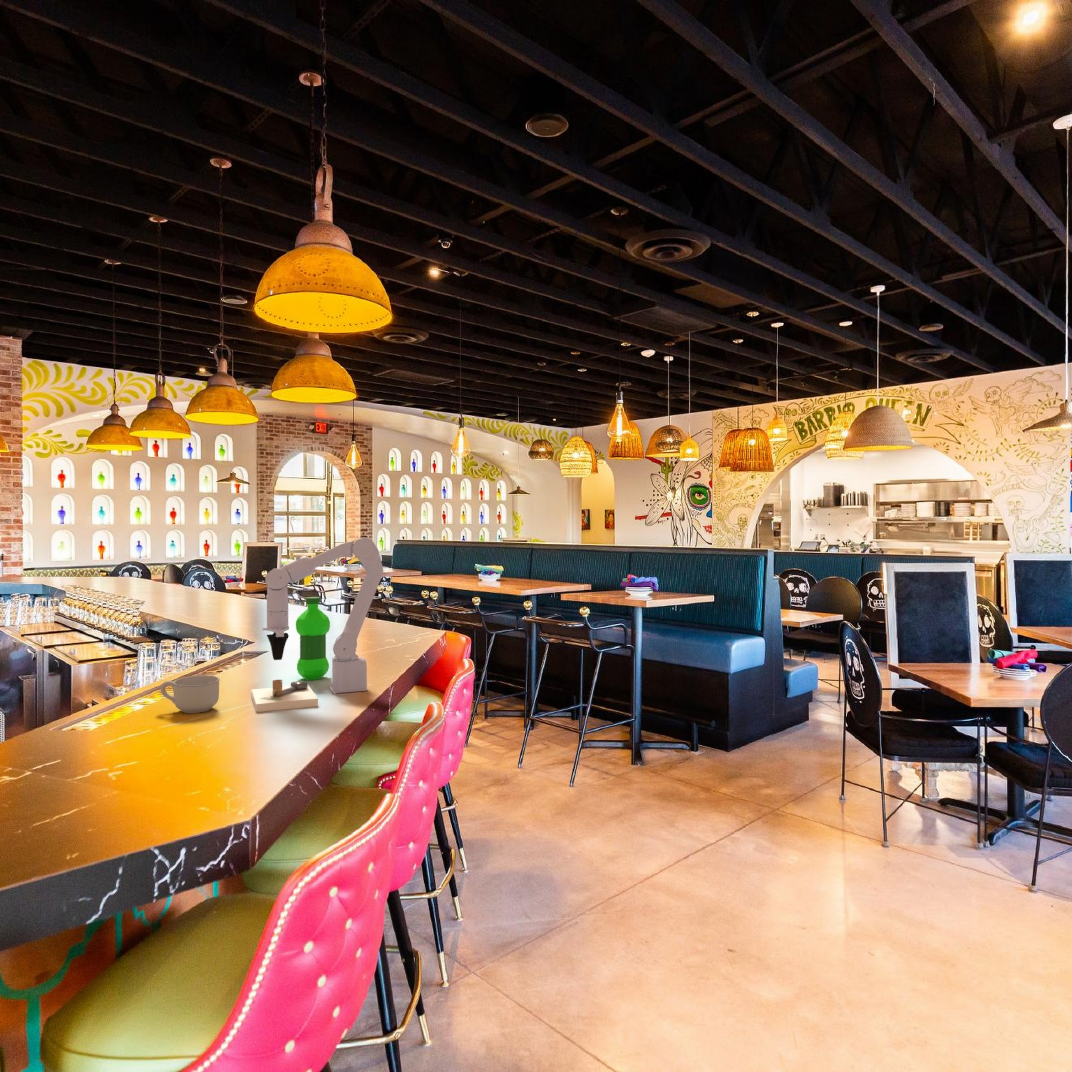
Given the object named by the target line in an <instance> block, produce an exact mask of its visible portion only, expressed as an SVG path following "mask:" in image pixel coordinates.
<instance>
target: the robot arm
mask: <svg viewBox="0 0 1072 1072" xmlns="http://www.w3.org/2000/svg"><path fill="white" fill-rule="evenodd" d="M379 551H380V550H379V549H378V547H377V545H376V543H374V541H373V540H372V539H371V538H369V537H360V538H358V539H356V540H351V541H347V542H343V543H340V544H338V545H336V546H333V547H332V548H330V549H328V550H325V551H323V552H321V553H319V554H316V555H315V556H312V557H309V556H307V555H303V556H301V555H298V556H296V557H295V559H294V560H291V561H290V562H287V563H285V564H284V563H281V564H279V568H272V569H271V570H270V571H269V572H267V574H266V575H265V585H267V589H266V593H267V594H266V626H263V627H262V629H261V630H262V631H268V632H273V633H272V634H266V637H267V639H268V641H269V644H270V648H271V654H272V659H273V661H281V660H283V657H284V652H285V651H284V650H285V646H286V643H287V642H288V641H287V640H288V639H289V636H290V635H289V633H288V632H286V631H289V630H290V626H289V594H288V593H289V592H288V585H289V583H291V584H294V583H297V582H299V581H301V580H304V579H305V578H308V577H310V576H312V575H314V573H315V571H316V569H317V568H318V567H320V566H323V565H326V564H327V563H331V562H333V561H335V560H338V559H339V558H342V557H343V558H353V556H354V557H356V558H357V560H358V561H359V562H360V563H361V565H362V567H363V569H364V572H365V576H364V579H363V580H362V583H361V586H360V588H359V591H358V594H357V595H356V598H355V600H354V603H353V606H352V608H351V611H350V613H349V616H348V617H347V621H346V623H345V626H344V628H343V629H342V633H341V634H339V635H338V636H337V637H336V640H335V642H334V643H333V647H332V651H333V655H334V656H333V657H332V658H331V659H332V660H331V661H332V665H331V666H332V669H331V672H332V675H331V676H332V680H331V681H332V686H329V687H328V688H329V690H330V691H331V692H332V693H333V694H341V693H343V694H344V693H351V692H352V693H353V692H363V691H364V692H366V691H368V670H367V669H368V666H367V661H366V658H365V657H362V658H361V657H359V655H357V653H356V652H357V647H358V637H359V635H360V633H361V629H362V628H363V624H364V622H365V619H366V617H367V614H368V612H369V610H370V607H371V604H372V602H373V599H374V596H375V595H376V592H377V589H378V586H379V585H380V582H381V580H382V577H383V574H384V567H383V563H382V559H381V555H380V552H379Z"/></svg>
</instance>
